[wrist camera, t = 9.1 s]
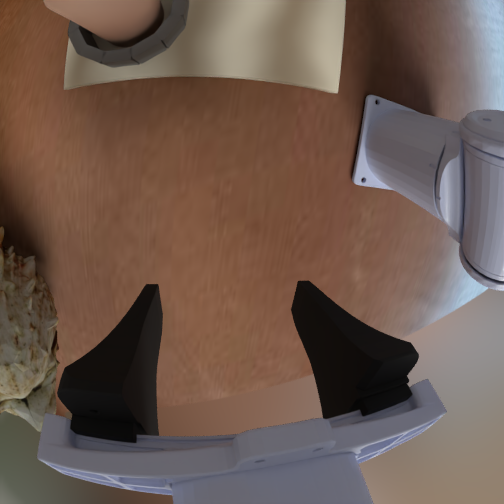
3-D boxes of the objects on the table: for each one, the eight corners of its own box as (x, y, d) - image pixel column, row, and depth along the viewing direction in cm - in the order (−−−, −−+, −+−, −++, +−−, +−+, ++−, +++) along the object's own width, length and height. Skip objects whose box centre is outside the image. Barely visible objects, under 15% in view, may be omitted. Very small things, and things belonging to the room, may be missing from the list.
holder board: (340, -5, 13) (362, -17, 10) (331, 93, 17) (354, 93, 15) (86, -14, 9) (69, -28, 6) (69, 89, 14) (46, 89, 11)
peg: (167, -8, 11) (151, -73, 3) (161, 43, 13) (132, -3, 5) (107, 1, 10) (56, -47, 2) (100, 52, 12) (34, 26, 4)
